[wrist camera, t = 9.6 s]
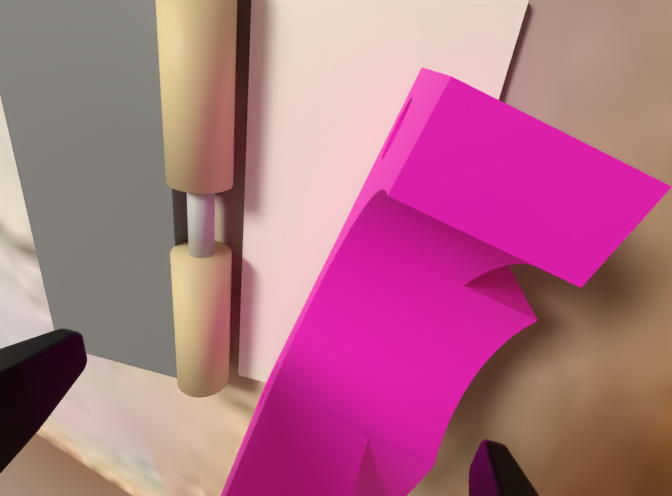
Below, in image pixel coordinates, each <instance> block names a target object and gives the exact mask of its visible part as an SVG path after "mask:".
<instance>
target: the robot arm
mask: <svg viewBox="0 0 672 496" xmlns="http://www.w3.org/2000/svg"><path fill="white" fill-rule="evenodd" d="M86 363H87V355H86V350H85V344H84V339H83V336H82V334H81V333H80V332H78V331H74V330H70V329H66V328H62V329H58V330H55V331H52V332H49V333H46V334H43V335H40V336H37V337H34V338H31V339H28V340H25V341H22V342H19V343H16V344H13V345H10V346H7V347H5V348H2V349H0V473H1V472H2V471H3V470H4V469H5V467H6V466H7V465H8V464H9V463H10V462H11V461H12V460H13V459H14V457H15V456H16V455H17V454H18V453H19V452H20V451H21V450H22V449H23V447H24V446H25V445H26V444H27V443H28V442H29V441H30V439H31V438H32V437H33V436H34V435H35V434H36V432H37V431H38V430H39V429H40V427H41V426H42V425H43V424H44V422H45V421H46V420H47V419H48V417H49V416H50V414H51V413H52V412H53V410H54V409H55V408H56V406H57V405H58V404H59V402H60V401H61V400H62V398H63V397H64V396H65V394H66V393H67V392H68V390H69V389H70V388H71V386H72V385H73V384H74V382H75V381H76V380H77V378H78V377H79V376H80V374H81V373H82V372H83V370H84V368H85V366H86ZM469 496H539V495H538V493H537V492H536V490H535V489H534V487H533V486H532V484H531V483H530V481H529V480H528V478H527V477H526V475H525V474H524V472H523V471H522V469H521V468H520V466H519V465H518V463H517V462H516V460H515V459H514V457H513V456H512V454H511V453H510V451H509V450H508V448H507V447H506V446H505V445H503V444H501V443H498V442H494V441H490V440H483V441H482V442H481V444H480V446H479V448H478V450H477V452H476V455H475V457H474V459H473V461H472V464H471V467H470V471H469Z"/></svg>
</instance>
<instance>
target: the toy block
mask: <svg viewBox="0 0 672 496" xmlns="http://www.w3.org/2000/svg"><path fill="white" fill-rule="evenodd" d="M670 188H671V186H669V185H667V184H665V183H663V182H661V181H659V180H657V179H655V178H653V177H651V176H649V175H647V174H645V173H643V172H641V171H639V170H637V169H635V168H633V167H631V166H629V165H627V164H625V163H623V162H621V161H619V160H617V159H615V158H613V157H611V156H609V155H607V154H605V153H603V152H601V151H599V150H597V149H595V148H593V147H591V146H590V145H588V144H586V143H584V142H582V141H580V140H578V139H576V138H574V137H572V136H570V135H568V134H566V133H564V132H562V131H560V130H558V129H556V128H554V127H552V126H550V125H548V124H546V123H544V122H542V121H540V120H538V119H536V118H534V117H532V116H530V115H528V114H526V113H524V112H522V111H520V110H518V109H516V108H514V107H512V106H510V105H508V104H506V103H504V102H502V101H500V100H498V99H496V98H494V97H492V96H490V95H488V94H486V93H484V92H482V91H480V90H478V89H476V88H474V87H472V86H470V85H468V84H466V83H464V82H462V81H460V80H458V79H456V78H454V77H452V76H449V75H446V74H442V73H439V72H436V71H433V70H429V69H426V68H423V67H422V68H421V70H420V72H419V74H418V76H417V78H416V80H415V82H414V84H413V86H412V88H411V90H410V92H409V94H408V96H407V98H406V100H405V102H404V104H403V106H402V108H401V110H400V112H399V114H398V116H397V118H396V120H395V122H394V124H393V126H392V129H391V131H390V133H389V135H388V137H387V139H386V141H385V143H384V145H383V147H382V149H381V151H380V153H379V155H378V157H377V159H376V161H375V163H374V165H373V167H372V169H371V171H370V173H369V175H368V177H367V179H366V181H365V183H364V185H363V187H362V189H361V191H360V193H359V195H358V197H357V199H356V201H355V203H354V205H353V207H352V209H351V211H350V213H349V216H348V218H347V220H346V222H345V224H344V226H343V228H342V230H341V232H340V234H339V236H338V238H337V240H336V242H335V244H334V246H333V248H332V250H331V252H330V254H329V256H328V258H327V260H326V262H325V264H324V266H323V268H322V270H321V272H320V274H319V276H318V278H317V280H316V282H315V284H314V286H313V288H312V290H311V292H310V294H309V296H308V298H307V300H306V303H305V305H304V307H303V309H302V311H301V313H300V315H299V317H298V319H297V321H296V323H295V325H294V327H293V329H292V331H291V333H290V335H289V337H288V339H287V341H286V343H285V345H284V347H283V349H282V351H281V353H280V355H279V357H278V359H277V361H276V363H275V365H274V367H273V369H272V371H271V373H270V375H269V377H268V380H267V382H266V385H265V387H264V390H263V392H262V395H261V397H260V400H259V402H258V405H257V407H256V409H255V412H254V414H253V417H252V419H251V422H250V424H249V427H248V429H247V432H246V434H245V437H244V439H243V442H242V444H241V447H240V449H239V452H238V454H237V457H236V459H235V462H234V464H233V466H232V469H231V471H230V474H229V476H228V479H227V481H226V484H225V486H224V489H223V491H222V494H221V496H407V495H408V494H409V493H410V492H411V490H412V489H413V488H414V487H415V486H416V485H417V484H418V483H419V482H420V481H421V480H422V479H423V477H424V476H425V475H426V474H427V473H428V472H429V471H430V470H431V469H432V468H433V466H434V463H435V460H436V457H437V453H438V450H439V447H440V444H441V442H442V439H443V436H444V433H445V431H446V429H447V426H448V424H449V421H450V419H451V417H452V415H453V413H454V411H455V409H456V407H457V405H458V403H459V401H460V399H461V397H462V396H463V394H464V392H465V390H466V389H467V387H468V386H469V384H470V383H471V381H472V379H473V378H474V377H475V375H476V374H477V373H478V371H479V370H480V369H481V367H482V366H483V365H484V364H485V363H486V361H487V360H488V359H489V358H490V357H491V356H492V355H493V354H494V353H495V352H496V351H497V350H498V349H499V348H500V347H501V346H502V345H503V344H504V343H505V342H506V341H508V340H509V339H510V338H511V337H512V336H514V335H515V334H517V333H518V332H519V331H521V330H522V329H524V328H525V327H527V326H529V325H531V324H532V323H534V322H536V321H538V320H537V318H536V316H535V314H534V312H533V310H532V309H531V307H530V305H529V303H528V301H527V299H526V297H525V296H524V294H523V292H522V290H521V288H520V286H519V284H518V283H517V281H516V279H515V277H514V275H513V273H512V272H511V270H510V268H509V266H508V265H514V264H531V265H534V266H536V267H538V268H540V269H542V270H545V271H547V272H549V273H551V274H553V275H555V276H557V277H559V278H561V279H563V280H566V281H568V282H570V283H572V284H574V285H576V286H578V287H580V288H581V287H582V286H583V285H584V284H585V283H586V282H587V281H588V280H589V278H590V277H591V276H592V275H593V274H594V273H595V272H596V271H597V270H598V268H599V267H600V266H601V265H602V264H603V263H604V262H605V261H606V260H607V258H608V257H609V256H610V255H611V254H612V253H613V252H614V251H615V249H616V248H617V247H618V246H619V245H620V244H621V243H622V242H623V241H624V239H625V238H626V237H627V236H628V235H629V234H630V233H631V232H632V231H633V229H634V228H635V227H636V226H637V225H638V224H639V223H640V222H641V221H642V219H643V218H644V217H645V216H646V215H647V214H648V213H649V212H650V210H651V209H652V208H653V207H654V206H655V205H656V204H657V203H658V202H659V200H660V199H661V198H662V197H663V196H664V195H665V194H666V193H667V192H668V190H669V189H670Z"/></svg>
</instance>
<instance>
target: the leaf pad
mask: <svg viewBox="0 0 672 496" xmlns="http://www.w3.org/2000/svg"><path fill="white" fill-rule="evenodd" d="M528 2H529V0H251V28H250V56H249V84H248V112H247V141H246V169H245V197H244V225H243V253H242V282H241V310H240V338H239V366H238V375H239V376H243V377H247V378H251V379H254V380H258V381H262V382H267V380H268V377H269V375H270V373H271V371H272V369H273V367H274V365H275V363H276V361H277V359H278V357H279V355H280V353H281V351H282V349H283V347H284V345H285V343H286V341H287V339H288V337H289V335H290V333H291V331H292V329H293V327H294V325H295V323H296V321H297V319H298V317H299V315H300V313H301V311H302V309H303V307H304V305H305V303H306V300H307V298H308V296H309V294H310V292H311V290H312V288H313V286H314V284H315V282H316V280H317V278H318V276H319V274H320V272H321V270H322V268H323V266H324V264H325V262H326V260H327V258H328V256H329V254H330V252H331V250H332V248H333V246H334V244H335V242H336V240H337V238H338V236H339V234H340V232H341V230H342V228H343V226H344V224H345V222H346V220H347V218H348V216H349V213H350V211H351V209H352V207H353V205H354V203H355V201H356V199H357V197H358V195H359V193H360V191H361V189H362V187H363V185H364V183H365V181H366V179H367V177H368V175H369V173H370V171H371V169H372V167H373V165H374V163H375V161H376V159H377V157H378V155H379V153H380V151H381V149H382V147H383V145H384V143H385V141H386V139H387V137H388V135H389V133H390V131H391V129H392V126H393V124H394V122H395V120H396V118H397V116H398V114H399V112H400V110H401V108H402V106H403V104H404V102H405V100H406V98H407V96H408V94H409V92H410V90H411V88H412V86H413V84H414V82H415V80H416V78H417V76H418V74H419V72H420V70H421V68H422V67H423V68H426V69H429V70H433V71H436V72H439V73H442V74H446V75H449V76H452V77H454V78H456V79H458V80H460V81H462V82H464V83H466V84H468V85H470V86H472V87H474V88H476V89H478V90H480V91H482V92H484V93H486V94H488V95H490V96H492V97H494V98H496V99H498V100H499V97H500V94H501V90H502V87H503V84H504V80H505V77H506V74H507V71H508V67H509V64H510V61H511V58H512V54H513V51H514V48H515V44H516V41H517V38H518V35H519V31H520V28H521V25H522V21H523V18H524V15H525V12H526V8H527V5H528Z"/></svg>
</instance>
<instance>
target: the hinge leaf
mask: <svg viewBox="0 0 672 496" xmlns="http://www.w3.org/2000/svg"><path fill="white" fill-rule="evenodd" d="M236 32H237V0H0V95H1V100H2V104H3V108H4V113H5V117H6V122H7V126H8V130H9V135H10V139H11V143H12V148H13V152H14V156H15V161H16V165H17V169H18V174H19V178H20V183H21V187H22V191H23V196H24V200H25V204H26V209H27V213H28V217H29V222H30V226H31V231H32V235H33V239H34V244H35V248H36V252H37V257H38V261H39V265H40V270H41V274H42V278H43V283H44V287H45V292H46V296H47V300H48V305H49V309H50V313H51V318H52V322H53V326H54V331H55V330H58V329H62V328H66V329H70V330H74V331H78V332H80V333H81V334H82V336H83V339H84V344H85V350H86V353H87V354H91V355H94V356H98V357H102V358H105V359H109V360H113V361H116V362H120V363H124V364H127V365H131V366H135V367H138V368H142V369H146V370H149V371H153V372H157V373H160V374H164V375H168V376H171V377H175V378H177V382H178V387H179V389H180V390H181V391H182V392H183V393H185V394H186V395H189V396H192V397H207V396H211V395H213V394H216V393H218V392H219V391H221V390H222V389H223V388H224V387H225V386H226V384H227V382H228V380H229V357H230V310H231V264H232V251H231V249H230V248H229V247H228V246H227V245H225V244H223V243H221V242H218V241H214V193H219V192H223V191H226V190H229V189H231V188H232V187H233V171H234V125H235V79H236Z"/></svg>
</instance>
